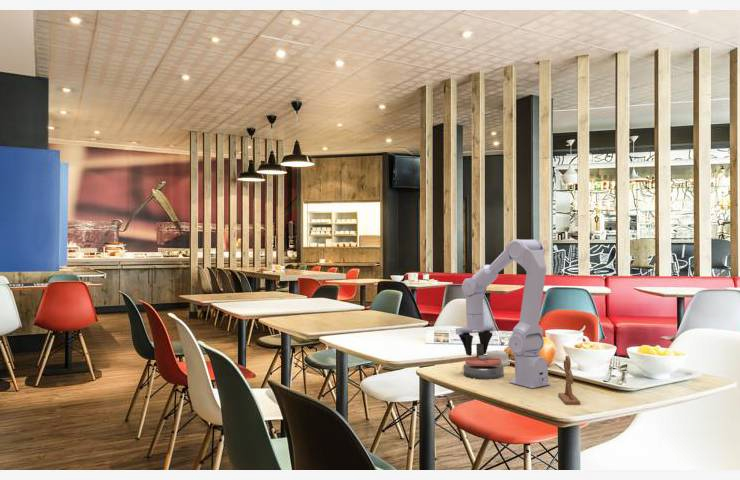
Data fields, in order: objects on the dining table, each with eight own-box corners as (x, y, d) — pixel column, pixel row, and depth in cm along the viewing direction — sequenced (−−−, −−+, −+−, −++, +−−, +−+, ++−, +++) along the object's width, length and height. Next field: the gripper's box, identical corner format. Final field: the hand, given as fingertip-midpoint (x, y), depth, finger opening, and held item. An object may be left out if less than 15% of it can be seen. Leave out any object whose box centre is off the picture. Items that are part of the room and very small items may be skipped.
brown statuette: (580, 405, 146) (579, 358, 146) (565, 404, 146) (563, 358, 146) (572, 396, 154) (571, 352, 155) (558, 396, 155) (556, 352, 155)
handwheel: (505, 367, 178) (504, 348, 178) (469, 368, 178) (468, 349, 178) (496, 361, 190) (496, 343, 190) (462, 361, 189) (462, 343, 190)
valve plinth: (512, 375, 182) (512, 366, 182) (482, 381, 175) (482, 371, 175) (484, 369, 193) (484, 360, 193) (455, 374, 186) (455, 364, 186)
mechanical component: (485, 361, 209) (482, 366, 199) (484, 349, 209) (482, 353, 199) (512, 362, 206) (511, 367, 196) (512, 350, 206) (510, 354, 196)
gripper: (485, 311, 195) (486, 350, 194) (450, 314, 189) (451, 354, 188) (498, 313, 188) (499, 353, 188) (461, 316, 182) (463, 357, 182)
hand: (476, 354), depth 188 cm, fingers open, 5 cm apart
